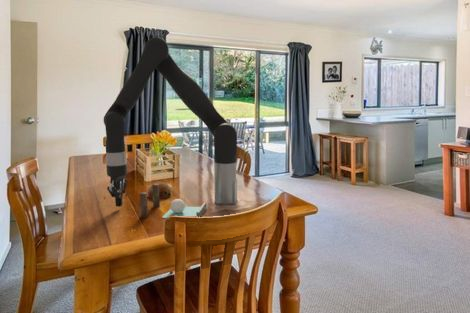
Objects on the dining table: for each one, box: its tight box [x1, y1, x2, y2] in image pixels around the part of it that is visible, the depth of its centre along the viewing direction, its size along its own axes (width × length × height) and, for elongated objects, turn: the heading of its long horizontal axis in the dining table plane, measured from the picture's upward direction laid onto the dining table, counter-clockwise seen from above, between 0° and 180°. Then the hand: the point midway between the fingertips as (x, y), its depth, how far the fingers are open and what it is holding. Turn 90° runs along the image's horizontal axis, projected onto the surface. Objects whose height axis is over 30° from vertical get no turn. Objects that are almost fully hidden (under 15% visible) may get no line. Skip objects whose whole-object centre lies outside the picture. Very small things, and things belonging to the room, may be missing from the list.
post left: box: [139, 191, 149, 219], centre depth 132 cm, size 3×3×9 cm
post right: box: [151, 183, 161, 208], centre depth 144 cm, size 3×3×9 cm
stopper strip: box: [196, 202, 207, 217], centre depth 136 cm, size 1×12×2 cm, turn 172°
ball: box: [170, 198, 186, 213], centre depth 136 cm, size 6×6×6 cm
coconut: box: [147, 181, 172, 200], centre depth 160 cm, size 10×10×8 cm
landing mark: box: [161, 205, 208, 219], centre depth 137 cm, size 14×14×1 cm
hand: (119, 205), depth 140 cm, fingers closed
